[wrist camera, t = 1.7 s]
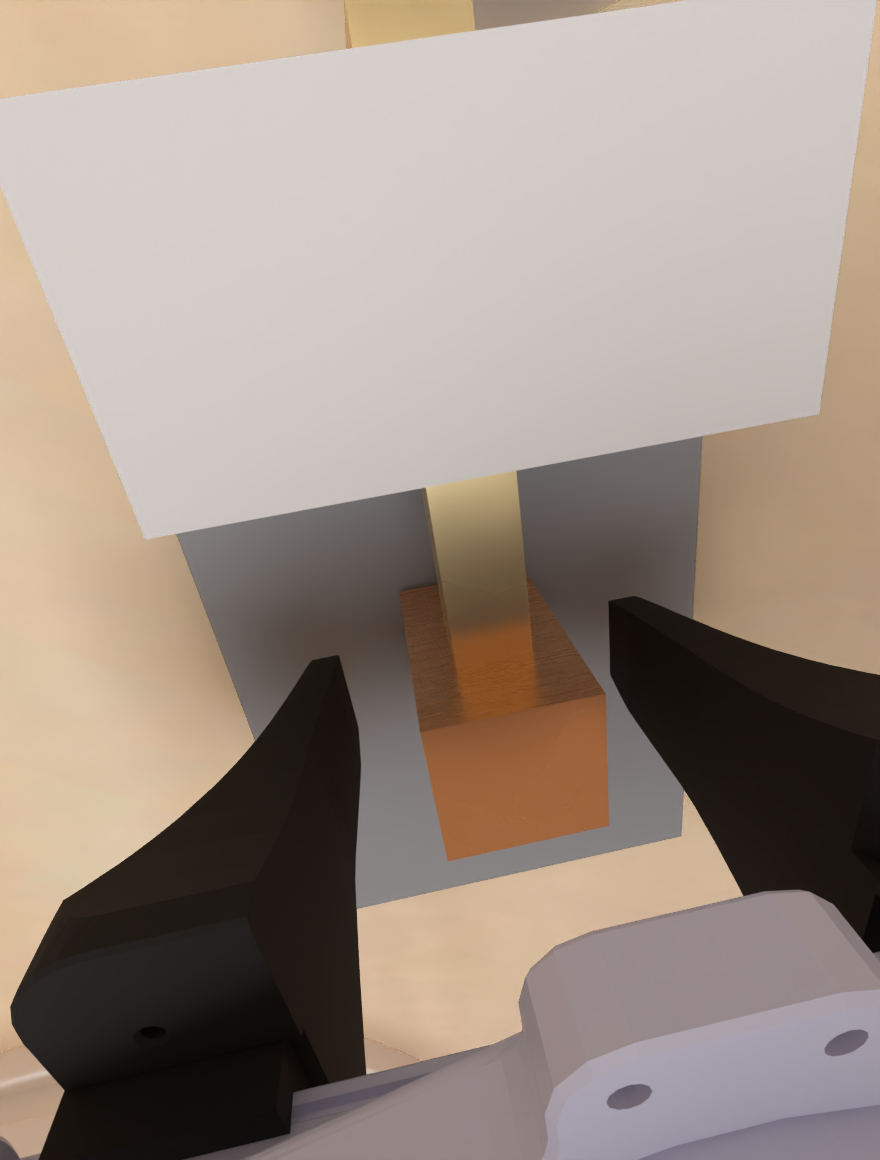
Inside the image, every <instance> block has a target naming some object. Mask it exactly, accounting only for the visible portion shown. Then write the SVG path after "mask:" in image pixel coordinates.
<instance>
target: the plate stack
mask: <svg viewBox="0 0 880 1160" xmlns="http://www.w3.org/2000/svg"><path fill="white" fill-rule="evenodd" d="M364 1047H365V1060H366V1074H372V1073H376V1072H380V1071H384V1070H388V1069H392V1068H397V1067H401V1066H405V1065H409V1064H413V1063H417V1062H421V1061H419V1060H417V1059H415V1058H413V1057H411V1056H409V1055H407V1054H405V1053H403V1052H401V1051H398V1050H396V1049H394V1048H391V1047H388V1046H386V1045H383V1044H380V1043H377V1042H375V1041H372V1040H368V1039H365V1038H364ZM63 1093H64V1089H63V1088H62V1087H61V1086H60V1085H59V1084H58V1083H57V1081H56V1080H55V1079H54V1078H53V1077H52V1076H51V1075H50V1074H49V1072H48V1071H47V1070H46V1069H45V1068H44V1067H43V1066H42V1064H41V1063H40V1062H39V1061H38V1060H37V1059H36V1058H35V1057H34V1055H33V1054H32V1053H31V1052H30V1051H29V1050H28V1049H27V1047H26V1046H22V1047H19V1048H16V1049H12V1050H9V1051H6V1052H3V1053H0V1136H2V1137H4V1138H5V1139H6V1140H7V1141H8V1142H9V1143H11V1145H12V1146H13V1148H14V1149H15V1151H16V1152H17V1154H18V1156H19V1158H22V1157H26V1156H30V1155H34V1154H38V1153H41V1151H42V1149H43V1146H44V1144H45V1141H46V1138H47V1136H48V1133H49V1130H50V1128H51V1125H52V1122H53V1120H54V1117H55V1114H56V1112H57V1109H58V1106H59V1104H60V1101H61V1099H62V1096H63Z"/></svg>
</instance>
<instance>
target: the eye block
mask: <svg viewBox="0 0 880 1160" xmlns="http://www.w3.org/2000/svg"><path fill="white" fill-rule="evenodd" d="M876 4H877V0H686V1H679V2H672V3H665V4H658V5H651V6H644V7H637V8H630V9H623V10H616V11H609V12H602V13H595V14H588V15H581V16H574V17H567V18H560V19H553V20H546V21H539V22H532V23H525V24H518V25H511V26H504V27H497V28H490V29H483V30H476V31H469V32H462V33H455V34H448V35H441V36H434V37H427V38H420V39H413V40H406V41H399V42H392V43H385V44H379V45H372V46H365V47H358V48H351V49H344V50H337V51H330V52H323V53H316V54H309V55H302V56H295V57H288V58H281V59H274V60H267V61H260V62H253V63H246V64H239V65H232V66H225V67H218V68H211V69H204V70H197V71H190V72H183V73H176V74H169V75H162V76H155V77H148V78H141V79H134V80H127V81H120V82H113V83H106V84H99V85H92V86H85V87H78V88H71V89H64V90H57V91H50V92H43V93H36V94H29V95H22V96H15V97H8V98H1V99H0V186H1V189H2V191H3V194H4V196H5V199H6V201H7V204H8V206H9V208H10V211H11V213H12V216H13V218H14V221H15V223H16V226H17V228H18V230H19V233H20V235H21V238H22V240H23V243H24V245H25V248H26V250H27V252H28V255H29V257H30V260H31V262H32V265H33V267H34V270H35V272H36V274H37V277H38V279H39V282H40V284H41V287H42V289H43V292H44V294H45V296H46V299H47V301H48V304H49V306H50V309H51V311H52V314H53V316H54V318H55V321H56V323H57V326H58V328H59V331H60V333H61V336H62V338H63V340H64V343H65V345H66V348H67V350H68V353H69V355H70V358H71V360H72V362H73V365H74V367H75V370H76V372H77V375H78V377H79V380H80V382H81V384H82V387H83V389H84V392H85V394H86V397H87V399H88V402H89V404H90V406H91V409H92V411H93V414H94V416H95V419H96V421H97V424H98V426H99V428H100V431H101V433H102V436H103V438H104V441H105V443H106V446H107V448H108V450H109V453H110V455H111V458H112V460H113V463H114V465H115V468H116V470H117V472H118V475H119V477H120V480H121V482H122V485H123V487H124V489H125V492H126V494H127V497H128V499H129V502H130V504H131V507H132V509H133V511H134V514H135V516H136V519H137V521H138V524H139V526H140V529H141V531H142V533H143V536H144V538H145V539H151V538H156V537H162V536H167V535H172V534H177V537H178V539H179V542H180V545H181V547H182V550H183V553H184V555H185V558H186V560H187V563H188V566H189V568H190V571H191V574H192V576H193V579H194V581H195V584H196V587H197V589H198V592H199V595H200V597H201V600H202V602H203V605H204V608H205V610H206V613H207V616H208V618H209V621H210V623H211V626H212V629H213V631H214V634H215V637H216V639H217V642H218V644H219V647H220V650H221V652H222V655H223V658H224V660H225V663H226V665H227V668H228V671H229V673H230V676H231V679H232V681H233V684H234V686H235V689H236V692H237V694H238V697H239V700H240V702H241V705H242V707H243V710H244V713H245V715H246V718H247V721H248V723H249V726H250V728H251V731H252V734H253V736H254V739H255V741H256V739H257V738H258V737H259V736H260V734H261V733H262V732H263V731H264V729H265V728H266V727H267V725H268V724H269V723H270V721H271V720H272V719H273V717H274V716H275V714H276V713H277V711H278V710H279V708H280V707H281V706H282V704H283V703H284V701H285V700H286V698H287V697H288V695H289V694H290V692H291V691H292V689H293V688H294V686H295V685H296V683H297V681H298V680H299V678H300V677H301V675H302V674H303V672H304V670H305V669H306V668H307V666H308V665H309V663H310V662H311V660H315V659H320V658H325V657H330V656H335V655H339V657H340V661H341V665H342V668H343V672H344V676H345V679H346V683H347V687H348V690H349V694H350V698H351V701H352V705H353V708H354V712H355V716H356V719H357V723H358V727H359V740H360V755H361V781H360V799H359V815H358V831H357V847H356V876H355V882H356V907H357V909H358V908H363V907H367V906H372V905H376V904H381V903H385V902H390V901H394V900H399V899H403V898H408V897H412V896H416V895H421V894H425V893H430V892H434V891H439V890H443V889H448V888H452V887H457V886H461V885H465V884H470V883H474V882H479V881H483V880H488V879H492V878H497V877H501V876H506V875H510V874H515V873H519V872H523V871H528V870H532V869H537V868H541V867H546V866H550V865H555V864H559V863H564V862H568V861H573V860H577V859H581V858H586V857H590V856H595V855H599V854H604V853H608V852H613V851H617V850H622V849H626V848H631V847H635V846H639V845H644V844H648V843H653V842H657V841H662V840H666V839H671V838H675V837H680V836H681V832H682V813H683V794H684V789H683V787H682V786H681V784H680V783H679V782H678V780H677V779H676V777H675V776H674V775H673V773H672V772H671V770H670V769H669V768H668V766H667V765H666V763H665V762H664V761H663V759H662V758H661V756H660V755H659V753H658V752H657V751H656V749H655V748H654V746H653V745H652V744H651V742H650V741H649V739H648V738H647V737H646V735H645V734H644V732H643V731H642V730H641V728H640V727H639V725H638V724H637V722H636V721H635V719H634V718H633V717H632V715H631V714H630V712H629V711H628V709H627V707H626V705H625V703H624V701H623V699H622V698H621V696H620V694H619V692H618V690H617V688H616V686H615V684H614V682H613V680H612V678H611V676H610V650H609V606H608V601H610V600H615V599H620V598H625V597H630V596H637V597H640V598H643V599H645V600H648V601H650V602H653V603H655V604H658V605H660V606H662V607H665V608H667V609H669V610H672V611H674V612H676V613H679V614H681V615H683V616H686V617H688V618H690V619H693V602H694V583H695V564H696V545H697V526H698V506H699V487H700V468H701V449H702V436H705V435H711V434H716V433H722V432H727V431H732V430H738V429H743V428H749V427H754V426H759V425H765V424H770V423H775V422H781V421H786V420H792V419H797V418H802V417H808V416H813V415H819V411H820V404H821V397H822V390H823V383H824V376H825V368H826V361H827V354H828V347H829V340H830V333H831V326H832V318H833V311H834V304H835V297H836V290H837V283H838V275H839V268H840V261H841V254H842V247H843V240H844V233H845V225H846V218H847V211H848V204H849V197H850V190H851V182H852V175H853V168H854V161H855V154H856V147H857V140H858V132H859V125H860V118H861V111H862V104H863V97H864V89H865V82H866V75H867V68H868V61H869V54H870V47H871V39H872V32H873V25H874V18H875V11H876ZM512 471H516V473H517V484H518V494H519V505H520V516H521V526H522V537H523V548H524V559H525V569H526V573H527V574H528V576H529V577H530V579H531V580H532V582H533V583H534V585H535V586H536V588H537V590H538V591H539V593H540V594H541V596H542V597H543V599H544V600H545V602H546V603H547V605H548V606H549V608H550V609H551V611H552V612H553V614H554V616H555V617H556V619H557V620H558V622H559V623H560V625H561V626H562V628H563V629H564V631H565V632H566V634H567V635H568V637H569V638H570V640H571V642H572V643H573V645H574V646H575V648H576V649H577V651H578V652H579V654H580V655H581V657H582V658H583V660H584V661H585V663H586V664H587V666H588V668H589V669H590V671H591V672H592V674H593V675H594V677H595V678H596V680H597V681H598V683H599V684H600V686H601V687H602V689H603V690H604V692H605V694H606V725H607V761H608V797H609V826H606V827H601V828H597V829H592V830H588V831H583V832H579V833H574V834H570V835H565V836H561V837H556V838H552V839H547V840H543V841H538V842H534V843H529V844H525V845H520V846H516V847H511V848H507V849H502V850H498V851H493V852H489V853H484V854H480V855H475V856H471V857H466V858H462V859H457V860H453V861H447V856H446V851H445V847H444V842H443V837H442V833H441V828H440V823H439V819H438V814H437V809H436V805H435V800H434V795H433V791H432V786H431V781H430V776H429V772H428V767H427V762H426V758H425V753H424V748H423V744H422V739H421V734H420V728H419V722H418V715H417V708H416V702H415V695H414V688H413V682H412V675H411V668H410V662H409V655H408V648H407V641H406V635H405V628H404V621H403V615H402V608H401V601H400V595H399V592H401V591H406V590H412V589H417V588H422V587H427V586H432V585H437V578H436V573H435V567H434V561H433V555H432V549H431V543H430V538H429V532H428V526H427V520H426V514H425V508H424V502H423V497H422V491H421V488H425V487H431V486H436V485H442V484H447V483H452V482H458V481H463V480H469V479H474V478H479V477H485V476H490V475H495V474H501V473H506V472H512Z"/></svg>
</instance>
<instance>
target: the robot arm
mask: <svg viewBox="0 0 880 1160" xmlns="http://www.w3.org/2000/svg"><path fill="white" fill-rule="evenodd" d="M608 606H609V650H610V676H611V678H612V680H613V682H614V684H615V686H616V688H617V690H618V692H619V694H620V696H621V698H622V699H623V701H624V703H625V705H626V707H627V709H628V711H629V712H630V714H631V715H632V717H633V718H634V719H635V721H636V722H637V724H638V725H639V727H640V728H641V730H642V731H643V732H644V734H645V735H646V737H647V738H648V739H649V741H650V742H651V744H652V745H653V746H654V748H655V749H656V751H657V752H658V753H659V755H660V756H661V758H662V759H663V761H664V762H665V763H666V765H667V766H668V768H669V769H670V770H671V772H672V773H673V775H674V776H675V777H676V779H677V780H678V782H679V783H680V784H681V786H682V787H683V789H684V790H685V792H686V793H687V795H688V796H689V798H690V800H691V801H692V803H693V804H694V806H695V807H696V809H697V811H698V813H699V815H700V816H701V818H702V820H703V822H704V823H705V825H706V827H707V829H708V831H709V832H710V834H711V836H712V838H713V839H714V841H715V843H716V845H717V847H718V848H719V850H720V852H721V854H722V856H723V858H724V860H725V862H726V863H727V865H728V867H729V869H730V871H731V873H732V875H733V877H734V878H735V880H736V882H737V884H738V886H739V888H740V890H741V892H742V894H743V897H738V898H734V899H730V900H725V901H721V902H717V903H712V904H708V905H704V906H700V907H695V908H691V909H687V910H682V911H678V912H674V913H669V914H665V915H661V916H656V917H652V918H648V919H643V920H639V921H635V922H630V923H626V924H622V925H617V926H613V927H609V928H604V929H600V930H596V931H592V932H589V933H586V934H584V935H581V936H579V937H577V938H574V939H572V940H569V941H567V942H564V943H562V944H559V945H557V946H555V947H554V948H553V949H552V950H550V951H549V952H548V953H547V954H546V955H545V956H544V957H543V958H542V959H541V960H540V961H538V962H537V963H536V964H535V965H534V966H533V967H532V968H531V969H530V970H529V972H528V974H527V975H526V977H525V981H524V984H523V988H522V991H521V995H520V999H519V1009H520V1015H521V1021H522V1032H519V1033H517V1034H515V1035H513V1036H511V1037H508V1038H506V1039H504V1040H502V1041H500V1042H498V1043H495V1044H492V1045H488V1046H484V1047H480V1048H476V1049H472V1050H467V1051H463V1052H459V1053H455V1054H451V1055H447V1056H442V1057H438V1058H434V1059H430V1060H426V1061H422V1062H417V1063H413V1064H409V1065H405V1066H401V1067H397V1068H392V1069H388V1070H384V1071H380V1072H376V1073H372V1074H366V1060H365V1047H364V1033H363V1018H362V1002H361V986H360V969H359V950H358V931H357V907H356V882H355V876H356V847H357V831H358V815H359V799H360V781H361V755H360V740H359V727H358V723H357V719H356V716H355V712H354V708H353V705H352V701H351V698H350V694H349V690H348V687H347V683H346V679H345V676H344V672H343V668H342V665H341V661H340V657H339V655H335V656H330V657H325V658H320V659H315V660H311V662H310V663H309V665H308V666H307V668H306V669H305V670H304V672H303V674H302V675H301V677H300V678H299V680H298V681H297V683H296V685H295V686H294V688H293V689H292V691H291V692H290V694H289V695H288V697H287V698H286V700H285V701H284V703H283V704H282V706H281V707H280V708H279V710H278V711H277V713H276V714H275V716H274V717H273V719H272V720H271V721H270V723H269V724H268V725H267V727H266V728H265V729H264V731H263V732H262V733H261V734H260V736H259V737H258V738H257V739H256V741H255V742H254V743H253V745H252V746H251V747H250V748H249V749H248V751H247V752H246V753H245V754H244V755H243V756H242V757H241V759H240V760H239V761H238V762H237V763H236V764H235V765H234V766H233V767H232V768H231V769H230V770H229V771H228V773H227V774H226V775H225V776H224V777H223V778H222V779H221V780H220V781H219V782H218V783H217V784H216V785H215V786H214V787H213V788H212V789H211V790H209V791H208V792H207V793H206V794H205V795H204V796H203V797H202V798H201V799H199V800H198V801H197V802H196V803H195V804H194V805H193V806H192V807H191V808H190V809H188V810H187V811H186V812H185V813H184V814H183V815H182V816H181V817H180V818H178V819H177V820H176V821H175V822H174V823H172V824H171V825H170V826H169V827H167V828H166V829H165V830H164V831H162V832H161V833H160V834H159V835H157V836H156V837H155V838H154V839H152V840H151V841H150V842H148V843H147V844H146V845H144V846H143V847H142V848H140V849H139V850H138V851H136V852H135V853H134V854H132V855H131V856H129V857H128V858H127V859H125V860H124V861H122V862H121V863H120V864H118V865H117V866H115V867H114V868H112V869H111V870H109V871H108V872H106V873H105V874H103V875H102V876H100V877H99V878H97V879H96V880H94V881H93V882H91V883H90V884H88V885H87V886H85V887H84V888H82V889H81V890H79V891H78V892H76V893H74V894H73V895H71V896H70V897H68V898H66V899H65V900H63V902H62V904H61V905H60V907H59V909H58V911H57V913H56V914H55V916H54V918H53V920H52V922H51V924H50V926H49V928H48V929H47V931H46V933H45V935H44V937H43V939H42V941H41V943H40V945H39V947H38V949H37V951H36V953H35V955H34V957H33V960H32V962H31V964H30V966H29V968H28V970H27V972H26V974H25V976H24V978H23V980H22V982H21V984H20V986H19V988H18V990H17V992H16V994H15V997H14V999H13V1002H12V1004H11V1007H10V1008H11V1020H12V1025H13V1027H14V1029H15V1031H16V1032H17V1034H18V1036H19V1037H20V1039H21V1041H22V1042H23V1044H24V1045H25V1046H26V1047H27V1049H28V1050H29V1051H30V1052H31V1053H32V1054H33V1055H34V1057H35V1058H36V1059H37V1060H38V1061H39V1062H40V1063H41V1064H42V1066H43V1067H44V1068H45V1069H46V1070H47V1071H48V1072H49V1074H50V1075H51V1076H52V1077H53V1078H54V1079H55V1080H56V1081H57V1083H58V1084H59V1085H60V1086H61V1087H62V1088H63V1089H64V1093H63V1096H62V1099H61V1101H60V1104H59V1106H58V1109H57V1112H56V1114H55V1117H54V1120H53V1122H52V1125H51V1128H50V1130H49V1133H48V1136H47V1138H46V1141H45V1144H44V1146H43V1149H42V1151H41V1153H38V1154H34V1155H30V1156H26V1157H22V1158H19V1156H18V1154H17V1152H16V1151H15V1149H14V1148H13V1146H12V1145H11V1143H9V1142H8V1141H7V1140H6V1139H5V1138H4V1137H2V1136H0V1160H880V675H877V674H871V673H866V672H861V671H856V670H851V669H847V668H842V667H837V666H832V665H828V664H824V663H820V662H816V661H812V660H808V659H804V658H801V657H797V656H794V655H790V654H787V653H783V652H780V651H776V650H773V649H770V648H767V647H764V646H760V645H758V644H755V643H752V642H749V641H746V640H744V639H741V638H738V637H735V636H732V635H730V634H727V633H725V632H722V631H719V630H717V629H714V628H712V627H709V626H707V625H705V624H702V623H700V622H697V621H695V620H693V619H690V618H688V617H686V616H683V615H681V614H679V613H676V612H674V611H672V610H669V609H667V608H665V607H662V606H660V605H658V604H655V603H653V602H650V601H648V600H645V599H643V598H640V597H637V596H630V597H625V598H620V599H615V600H610V601H608Z"/></svg>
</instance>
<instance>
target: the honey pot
mask: <svg viewBox="0 0 880 1160" xmlns="http://www.w3.org/2000/svg"><path fill="white" fill-rule="evenodd" d="M617 1H619V0H472V2H473V12H474V23H475V31H476V30H483V29H490V28H497V27H504V26H511V25H518V24H525V23H532V22H539V21H546V20H553V19H560V18H567V17H574V16H581V15H588V14H594V13H596V12H598V11H600V10H602V9H604V8H605V7H607V6H609V5H611V4H613V3H615V2H617Z"/></svg>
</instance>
